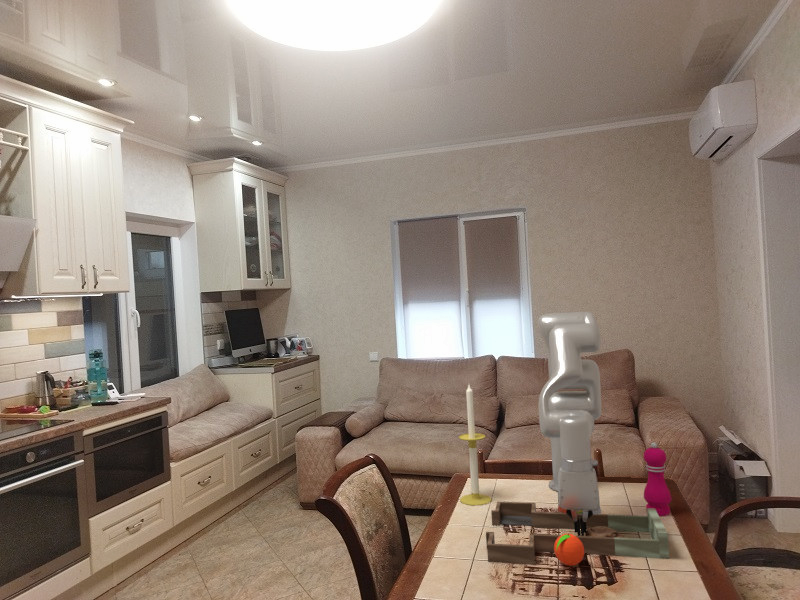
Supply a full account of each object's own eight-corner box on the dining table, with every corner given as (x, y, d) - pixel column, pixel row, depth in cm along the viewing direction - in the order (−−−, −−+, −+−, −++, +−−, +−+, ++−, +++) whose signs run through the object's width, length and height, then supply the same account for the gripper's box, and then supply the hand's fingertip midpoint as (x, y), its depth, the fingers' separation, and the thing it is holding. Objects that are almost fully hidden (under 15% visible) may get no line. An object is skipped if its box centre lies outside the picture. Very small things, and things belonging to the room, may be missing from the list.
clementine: (570, 575, 127) (568, 544, 128) (545, 565, 133) (544, 535, 133) (591, 564, 132) (589, 534, 132) (567, 554, 138) (565, 525, 138)
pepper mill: (638, 510, 163) (634, 441, 163) (657, 505, 166) (653, 438, 166) (659, 518, 156) (654, 446, 157) (678, 513, 159) (673, 443, 159)
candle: (470, 508, 173) (463, 386, 173) (454, 498, 182) (447, 383, 182) (497, 501, 177) (490, 382, 177) (480, 492, 186) (473, 379, 186)
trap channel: (494, 515, 166) (493, 494, 166) (651, 521, 155) (650, 499, 155) (483, 561, 137) (482, 536, 137) (675, 572, 126) (674, 545, 126)
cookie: (604, 531, 151) (604, 519, 151) (634, 545, 141) (634, 533, 141) (574, 538, 147) (574, 527, 147) (603, 554, 137) (602, 542, 137)
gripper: (605, 460, 147) (609, 530, 147) (546, 459, 151) (551, 528, 151) (608, 469, 140) (613, 543, 140) (546, 468, 144) (551, 539, 144)
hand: (580, 535), depth 145 cm, fingers closed
